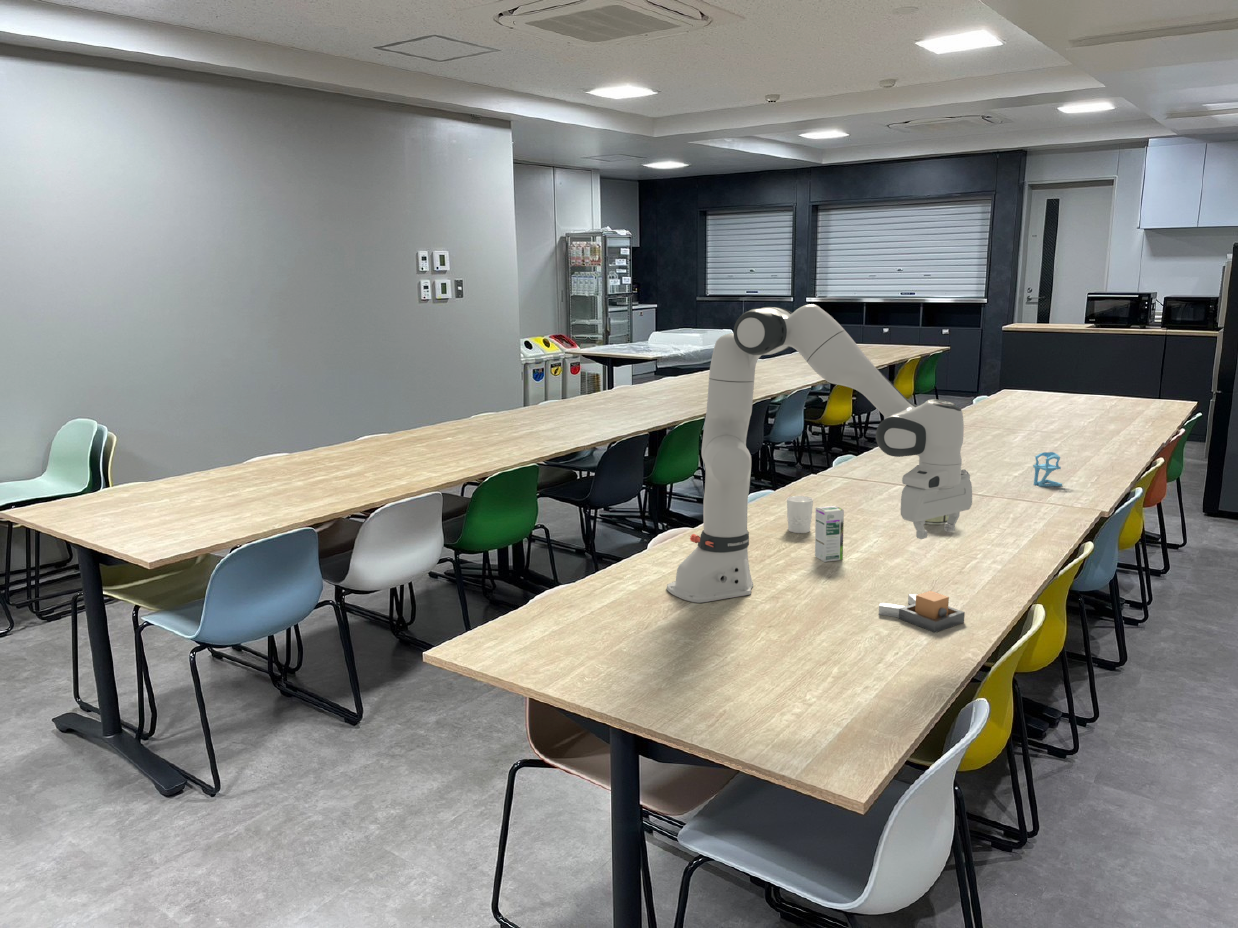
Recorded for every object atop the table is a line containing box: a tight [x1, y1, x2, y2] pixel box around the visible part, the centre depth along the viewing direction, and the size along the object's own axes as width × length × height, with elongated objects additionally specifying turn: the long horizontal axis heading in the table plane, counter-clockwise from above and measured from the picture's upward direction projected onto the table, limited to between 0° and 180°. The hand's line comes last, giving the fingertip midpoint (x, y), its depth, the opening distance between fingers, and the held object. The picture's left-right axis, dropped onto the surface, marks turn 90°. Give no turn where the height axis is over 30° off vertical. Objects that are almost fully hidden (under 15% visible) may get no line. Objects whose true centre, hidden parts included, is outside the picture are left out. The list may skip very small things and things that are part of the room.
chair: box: [1032, 451, 1063, 488], centre depth 328 cm, size 8×8×12 cm
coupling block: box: [915, 590, 950, 619], centre depth 205 cm, size 5×7×6 cm
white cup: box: [786, 495, 814, 534], centre depth 277 cm, size 8×8×10 cm
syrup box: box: [814, 505, 845, 563], centre depth 249 cm, size 6×6×14 cm
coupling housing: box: [878, 593, 965, 633], centre depth 207 cm, size 13×16×2 cm
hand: (935, 534), depth 201 cm, fingers open, 8 cm apart
